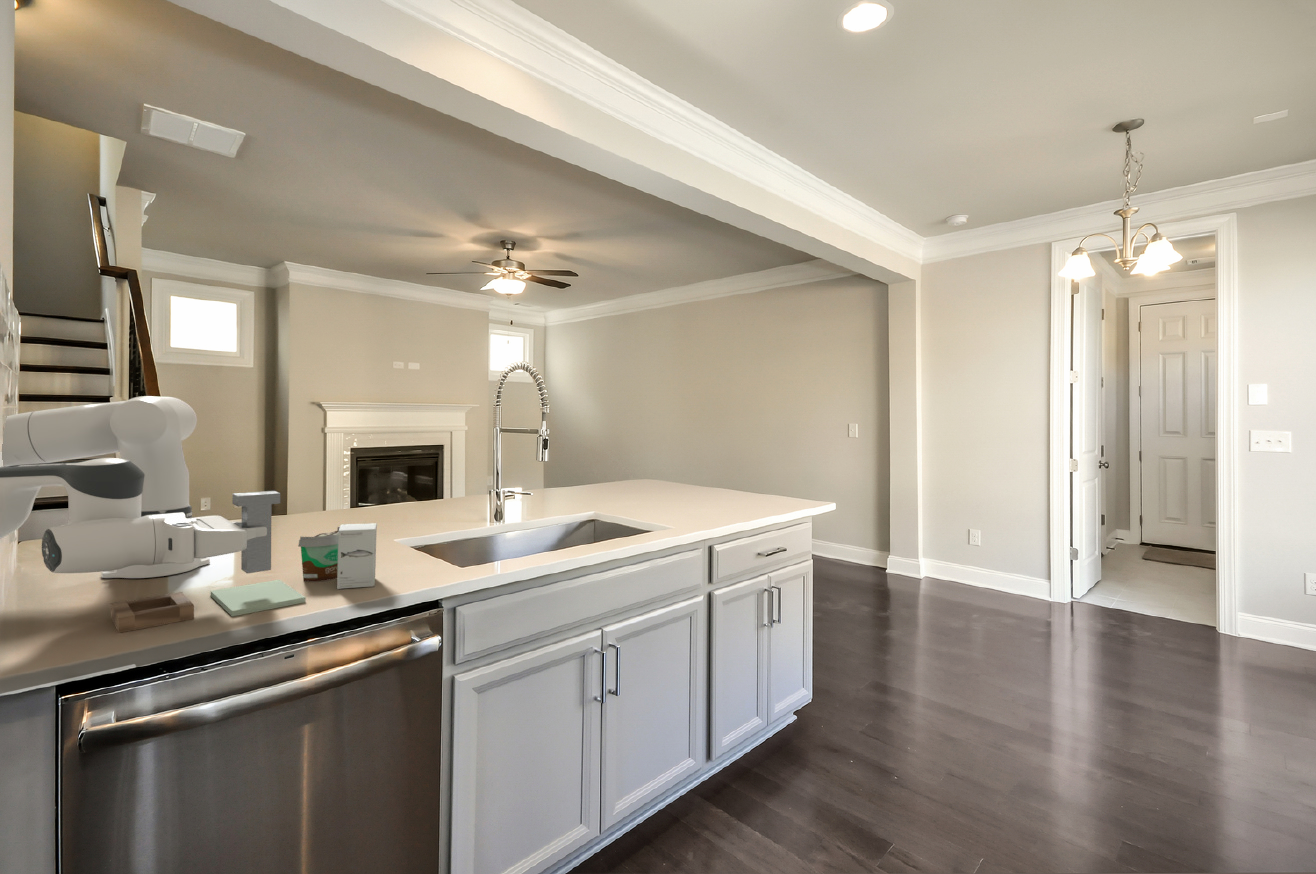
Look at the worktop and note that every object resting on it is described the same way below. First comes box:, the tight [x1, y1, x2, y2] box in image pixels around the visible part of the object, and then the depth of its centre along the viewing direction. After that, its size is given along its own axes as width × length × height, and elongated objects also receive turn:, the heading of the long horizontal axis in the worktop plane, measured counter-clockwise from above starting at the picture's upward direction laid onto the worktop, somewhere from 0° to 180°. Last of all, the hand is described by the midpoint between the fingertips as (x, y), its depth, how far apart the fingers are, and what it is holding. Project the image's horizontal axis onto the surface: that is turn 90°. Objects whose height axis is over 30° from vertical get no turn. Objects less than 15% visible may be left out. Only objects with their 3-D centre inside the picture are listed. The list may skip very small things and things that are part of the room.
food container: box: [297, 526, 340, 582], centre depth 135 cm, size 12×6×10 cm, turn 168°
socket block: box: [110, 591, 195, 634], centre depth 107 cm, size 10×10×2 cm
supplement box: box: [336, 522, 378, 590], centre depth 130 cm, size 7×7×13 cm
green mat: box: [210, 579, 307, 617], centre depth 119 cm, size 16×12×1 cm
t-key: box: [231, 490, 281, 574], centre depth 118 cm, size 4×7×15 cm, turn 138°
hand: (261, 528), depth 118 cm, fingers closed on t-key, 4 cm apart
